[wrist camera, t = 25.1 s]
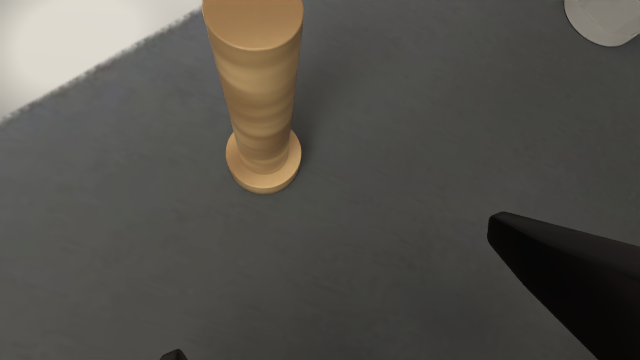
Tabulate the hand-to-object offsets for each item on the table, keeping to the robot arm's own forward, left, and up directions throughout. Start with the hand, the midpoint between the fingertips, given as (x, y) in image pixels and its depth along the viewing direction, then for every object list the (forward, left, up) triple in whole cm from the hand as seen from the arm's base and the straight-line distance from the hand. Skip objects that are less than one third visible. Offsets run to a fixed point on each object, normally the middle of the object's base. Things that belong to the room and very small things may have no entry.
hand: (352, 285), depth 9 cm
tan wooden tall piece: (+7, -4, -12) cm, 14 cm away
